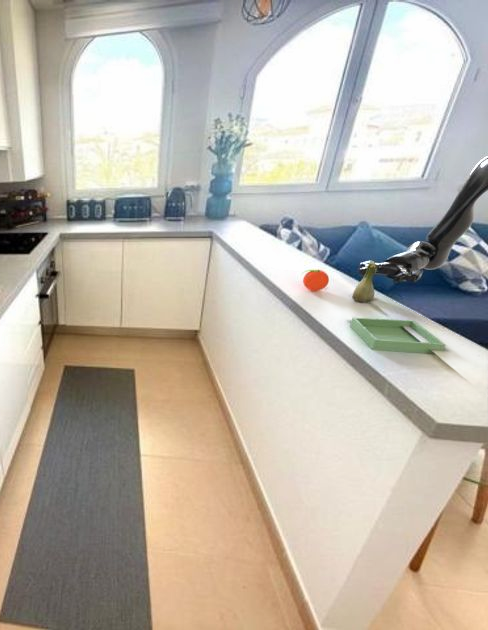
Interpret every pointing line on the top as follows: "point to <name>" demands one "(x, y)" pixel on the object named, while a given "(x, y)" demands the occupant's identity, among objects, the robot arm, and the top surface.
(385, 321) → the green tray
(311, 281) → the tomato
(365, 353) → the top surface
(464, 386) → the top surface
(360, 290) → the fennel bulb
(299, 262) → the top surface
